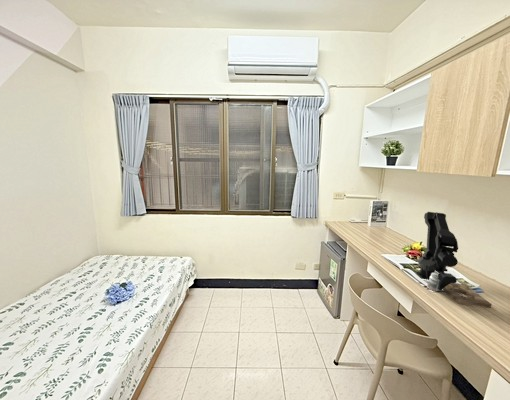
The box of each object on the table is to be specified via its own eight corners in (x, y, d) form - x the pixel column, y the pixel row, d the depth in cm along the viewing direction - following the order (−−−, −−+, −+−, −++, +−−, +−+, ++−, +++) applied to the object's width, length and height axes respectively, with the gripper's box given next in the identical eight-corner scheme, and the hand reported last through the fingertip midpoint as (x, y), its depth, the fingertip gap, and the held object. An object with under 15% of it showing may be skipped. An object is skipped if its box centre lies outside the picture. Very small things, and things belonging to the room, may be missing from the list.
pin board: (436, 284, 122) (437, 280, 121) (463, 287, 120) (465, 284, 120) (458, 303, 106) (459, 299, 106) (490, 307, 105) (491, 303, 104)
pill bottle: (433, 286, 120) (436, 272, 118) (440, 291, 115) (444, 277, 114) (424, 285, 120) (428, 272, 118) (431, 291, 115) (435, 277, 113)
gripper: (413, 248, 123) (407, 273, 127) (436, 265, 105) (428, 293, 109) (435, 250, 122) (428, 275, 126) (461, 267, 104) (452, 296, 108)
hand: (433, 284), depth 117 cm, fingers open, 9 cm apart
